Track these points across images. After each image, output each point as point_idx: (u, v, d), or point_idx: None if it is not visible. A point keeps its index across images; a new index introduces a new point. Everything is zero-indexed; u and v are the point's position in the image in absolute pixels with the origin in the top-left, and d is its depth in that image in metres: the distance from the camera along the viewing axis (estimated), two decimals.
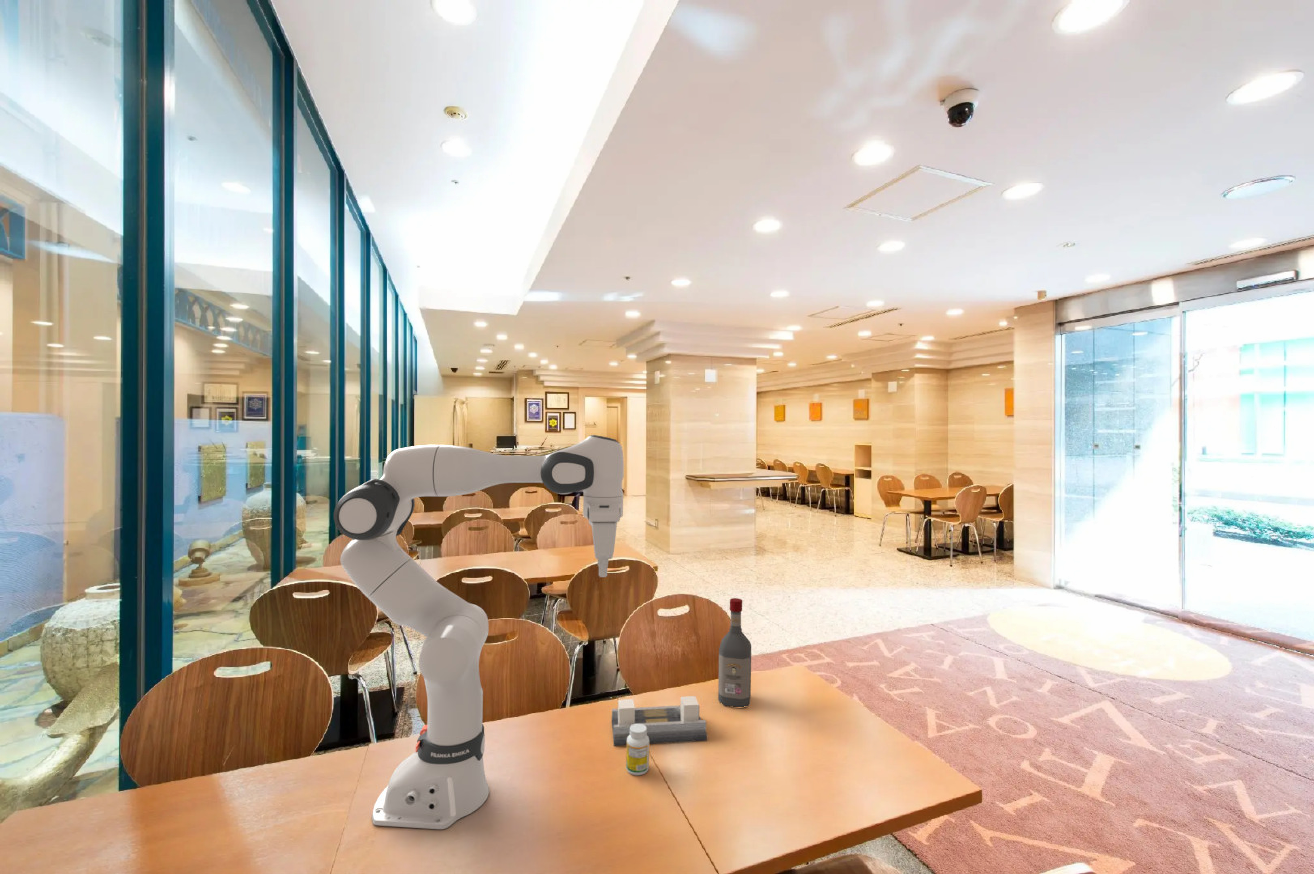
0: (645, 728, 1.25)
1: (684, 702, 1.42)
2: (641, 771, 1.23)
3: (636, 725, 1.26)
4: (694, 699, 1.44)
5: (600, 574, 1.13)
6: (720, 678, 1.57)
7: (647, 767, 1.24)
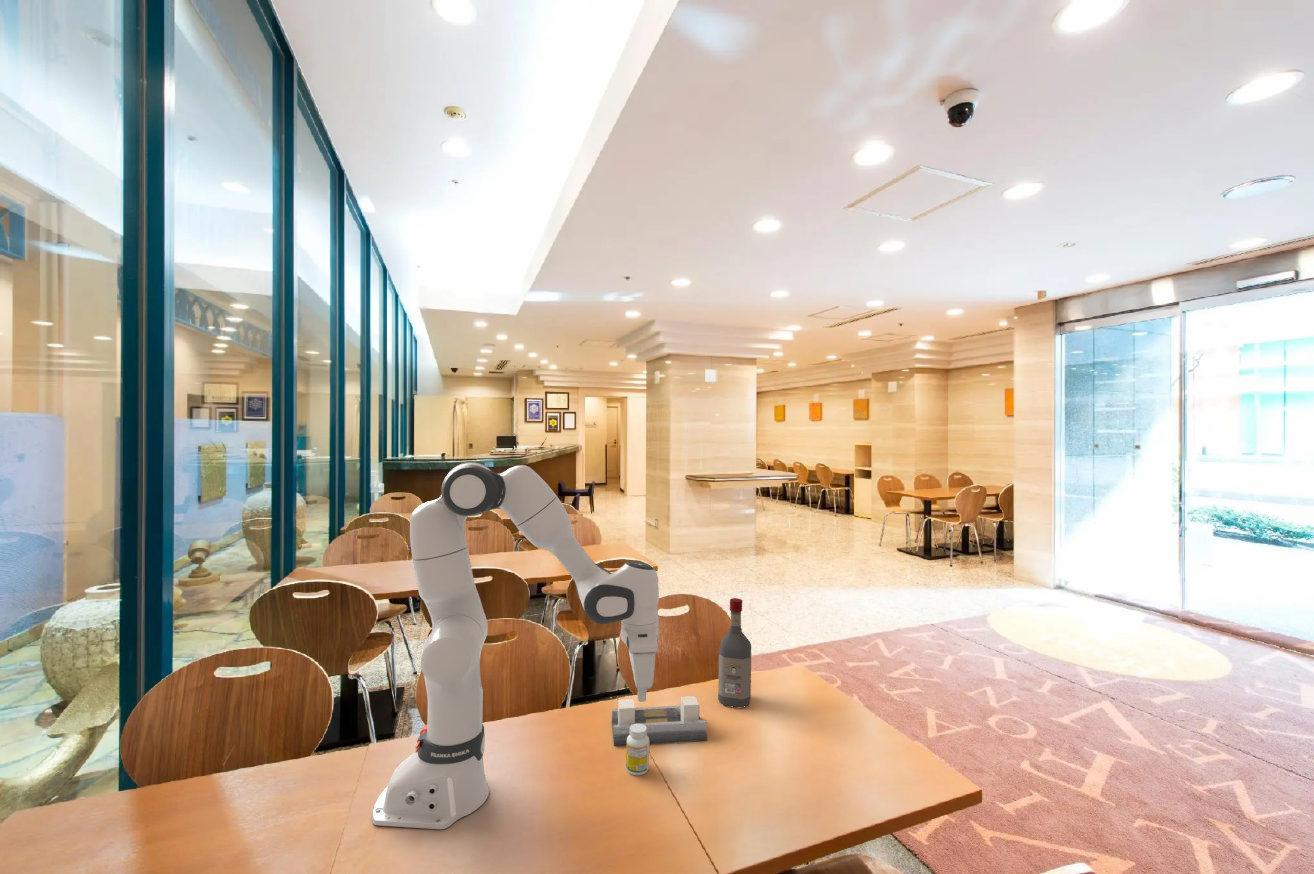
0: (645, 728, 1.25)
1: (684, 702, 1.42)
2: (641, 771, 1.23)
3: (636, 725, 1.26)
4: (694, 699, 1.44)
5: (639, 699, 1.20)
6: (720, 678, 1.57)
7: (647, 767, 1.24)
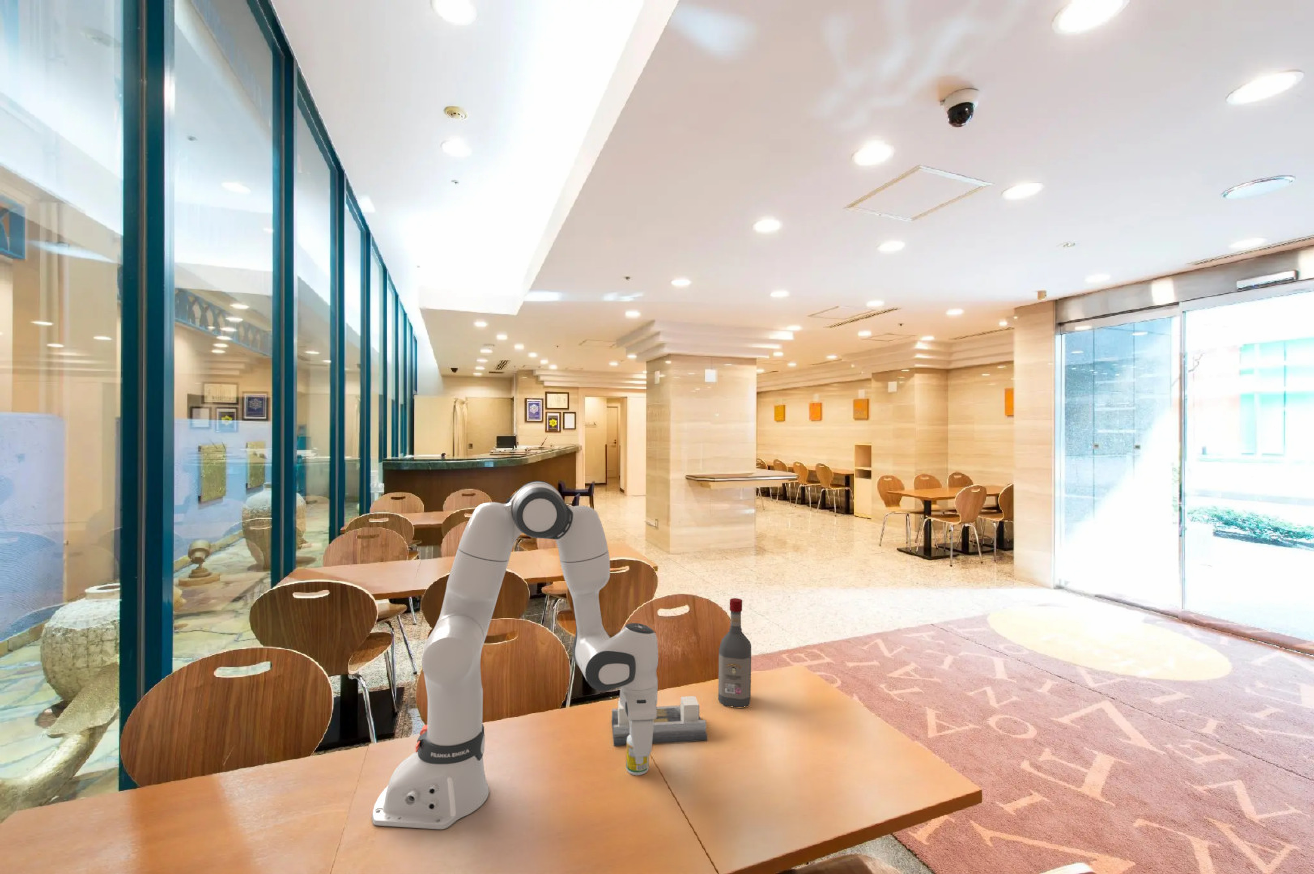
0: None
1: (684, 702, 1.42)
2: (641, 771, 1.23)
3: None
4: (694, 699, 1.44)
5: (637, 761, 1.21)
6: (720, 678, 1.57)
7: (647, 766, 1.24)
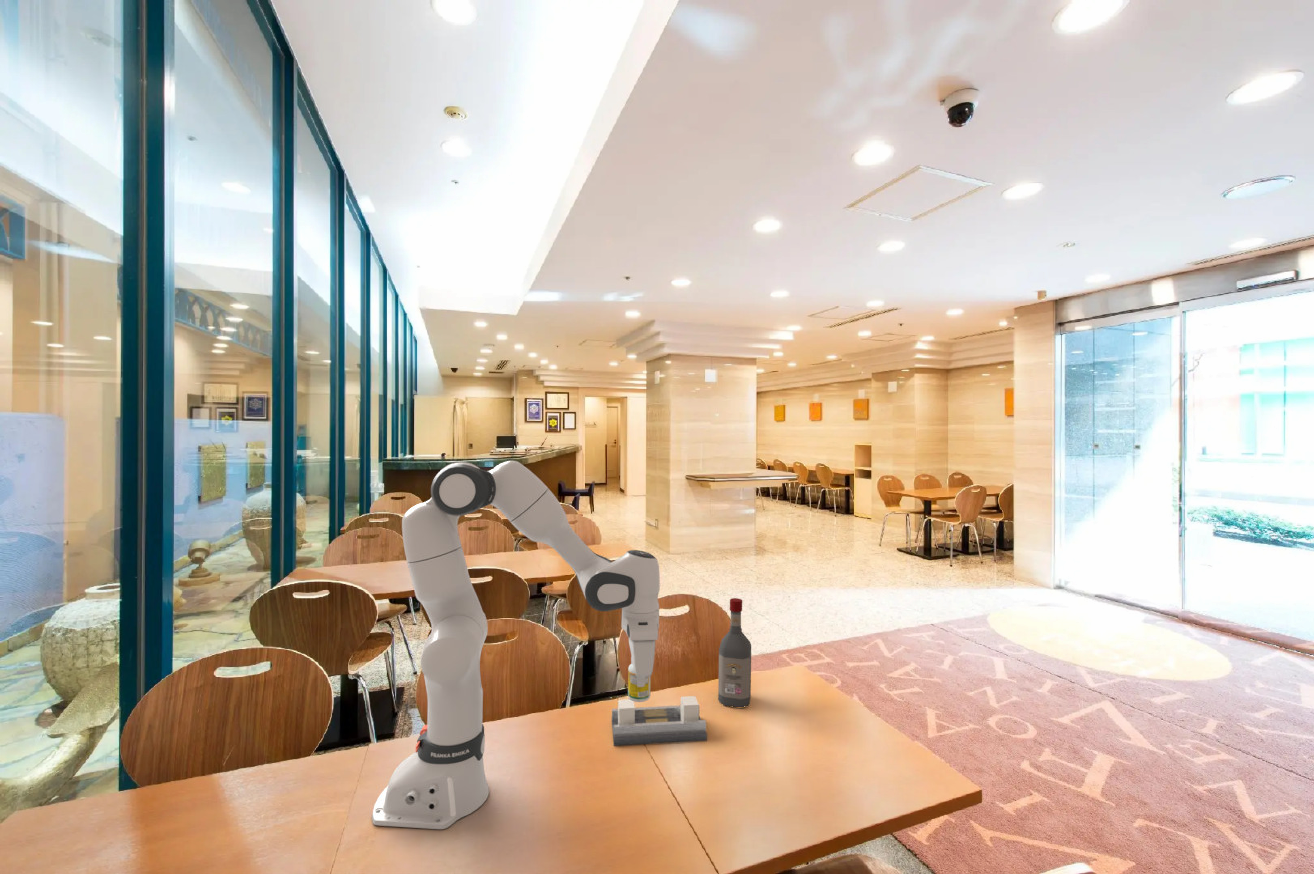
0: None
1: (684, 702, 1.42)
2: (643, 698, 1.23)
3: None
4: (694, 699, 1.44)
5: (638, 684, 1.21)
6: (720, 678, 1.57)
7: (648, 694, 1.24)
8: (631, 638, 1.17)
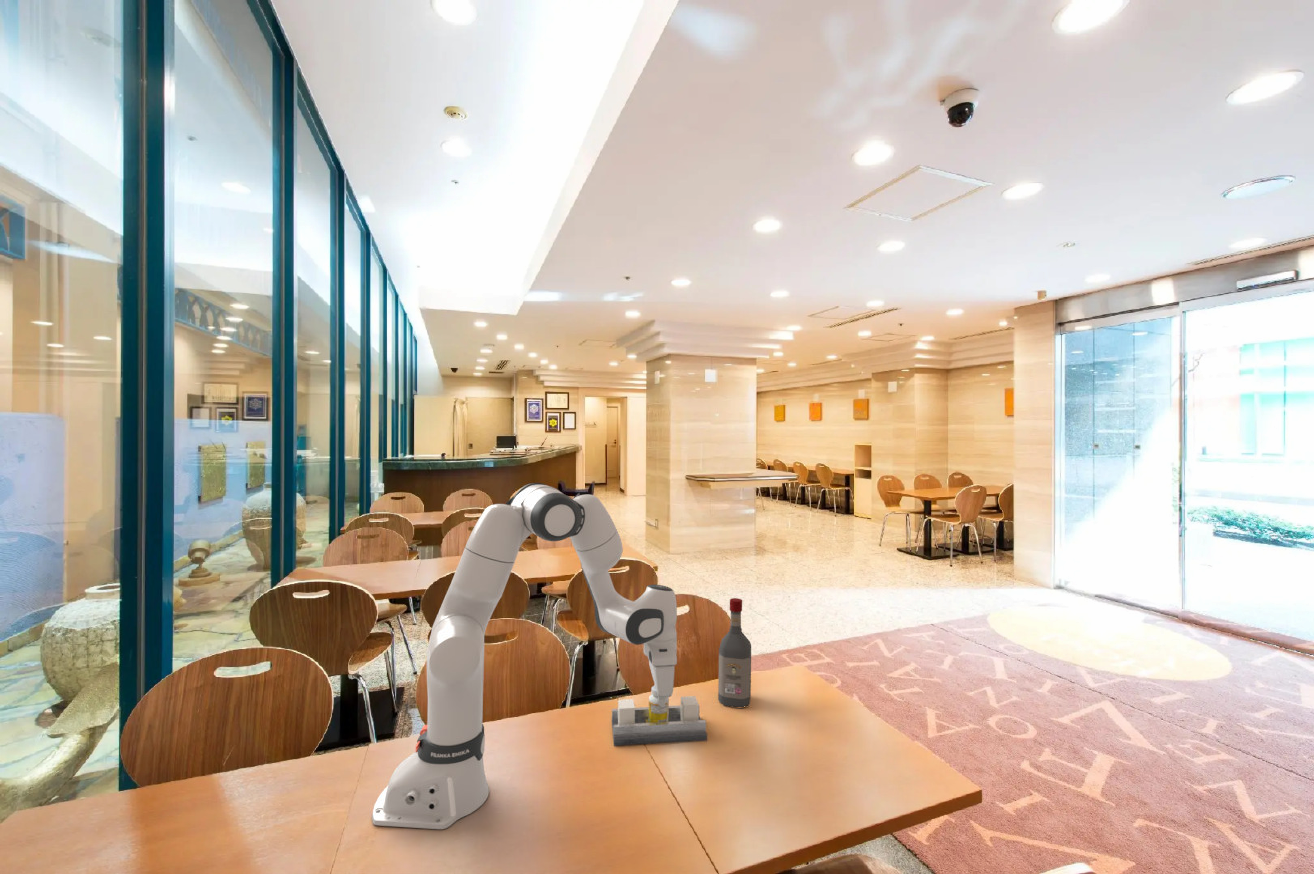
0: None
1: (684, 702, 1.42)
2: None
3: None
4: (694, 699, 1.44)
5: (659, 703, 1.38)
6: (720, 678, 1.57)
7: None
8: (653, 664, 1.33)
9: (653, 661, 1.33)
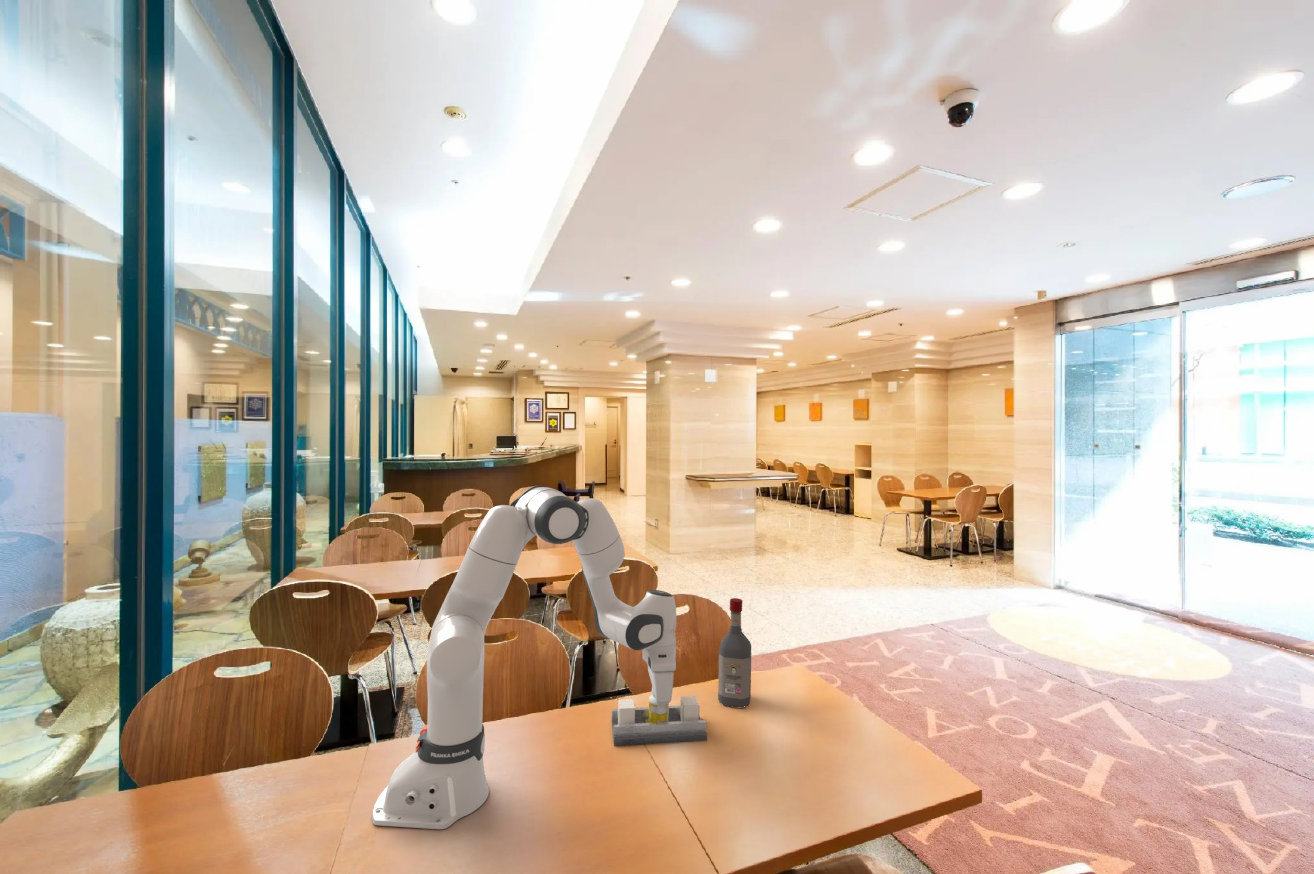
0: None
1: (684, 702, 1.42)
2: None
3: None
4: (694, 699, 1.44)
5: (659, 711, 1.37)
6: (720, 678, 1.57)
7: None
8: (652, 669, 1.33)
9: (652, 667, 1.33)
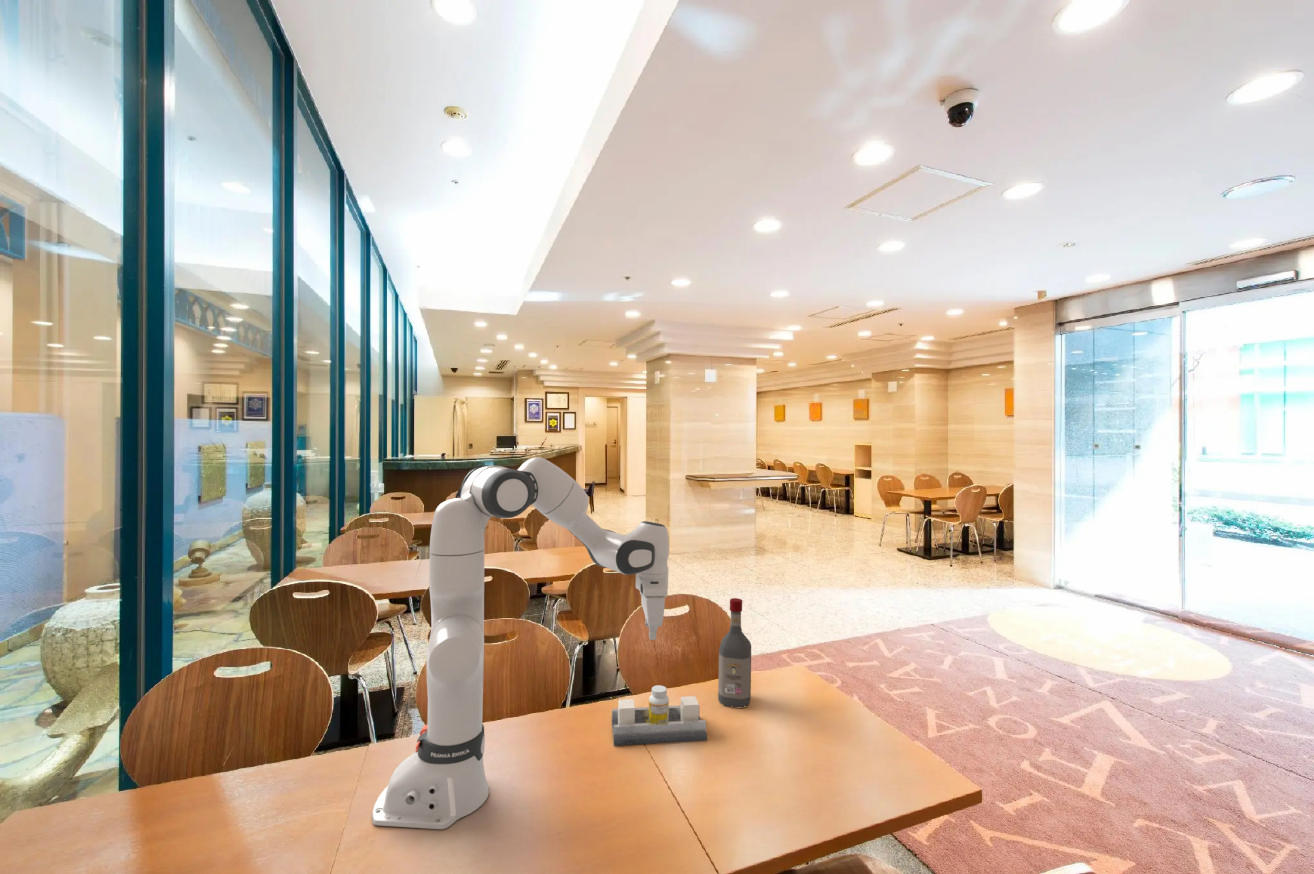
0: (665, 689, 1.42)
1: (684, 702, 1.42)
2: None
3: (657, 686, 1.43)
4: (694, 699, 1.44)
5: (650, 637, 1.39)
6: (720, 678, 1.57)
7: None
8: (644, 594, 1.36)
9: (644, 591, 1.36)
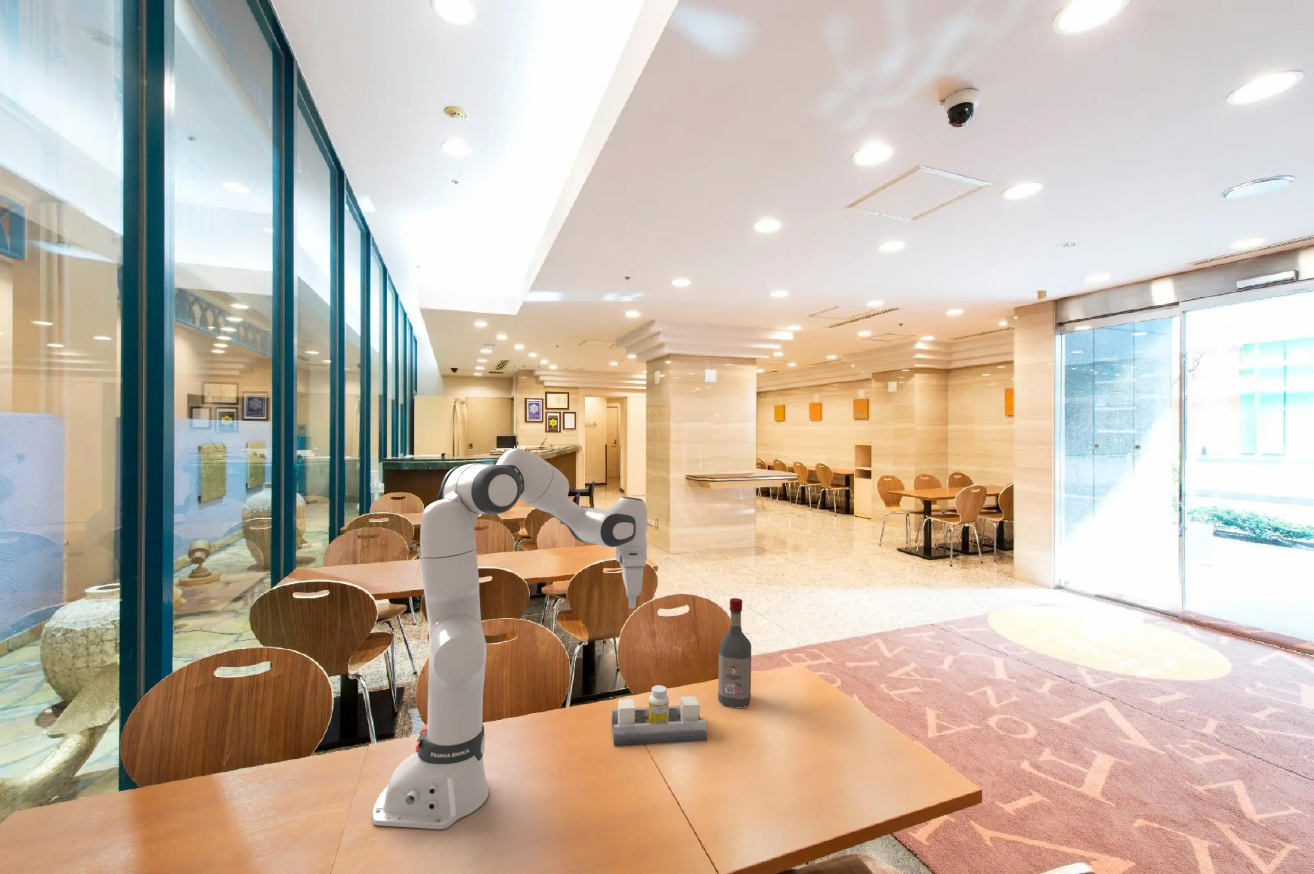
0: (665, 689, 1.42)
1: (684, 702, 1.42)
2: None
3: (657, 686, 1.43)
4: (694, 699, 1.44)
5: (630, 606, 1.46)
6: (720, 678, 1.57)
7: None
8: (623, 564, 1.43)
9: (623, 562, 1.43)
